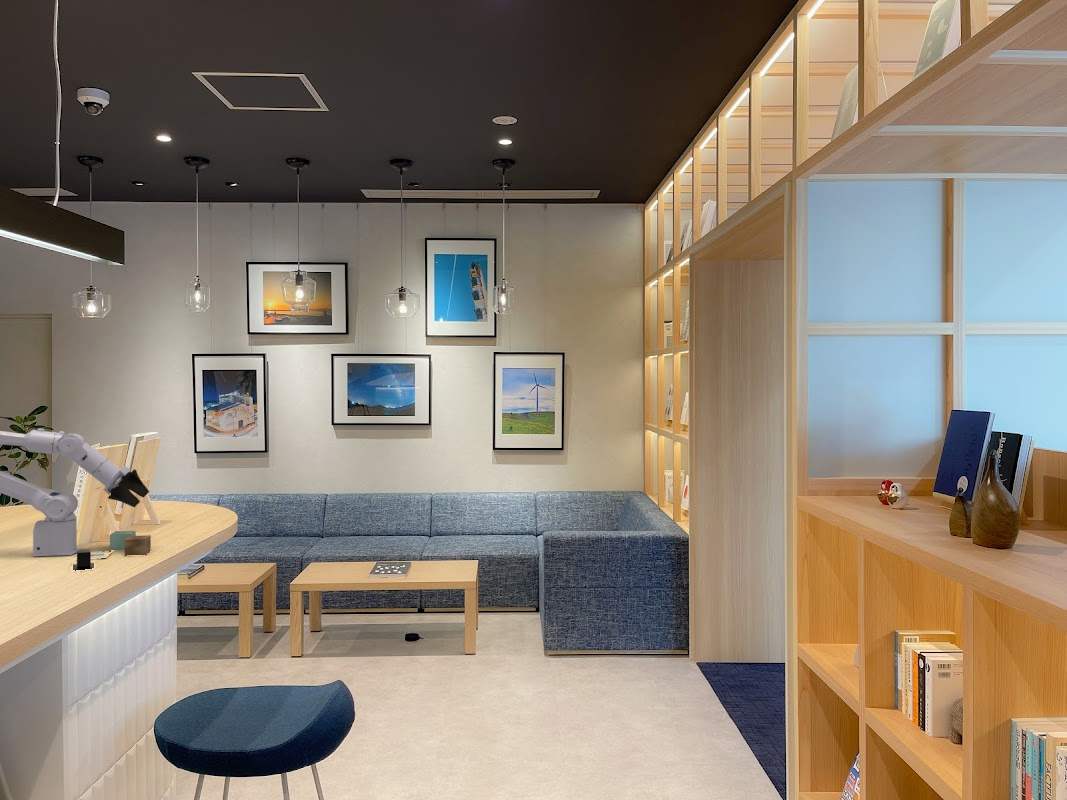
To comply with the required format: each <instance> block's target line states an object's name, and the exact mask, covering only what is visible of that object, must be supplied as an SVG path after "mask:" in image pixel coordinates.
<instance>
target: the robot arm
mask: <svg viewBox="0 0 1067 800" xmlns="http://www.w3.org/2000/svg"><path fill="white" fill-rule="evenodd" d="M0 445H6V446H15V447H17V446H18V447H24V448H25V449H26V450H27V451H28V452H29V453H38V454H39V453H40V454H47V455H58V454H59V455H60V456H61V457H65V458H70V459H71V460H72V461H73V462H75V463H76V464H77V465H78V467H80V468H82V469H83V470H84V471H85V472H87V473H88V474H89V475H91V476H92V477H93V478H95V479H96V480H97V481H99V482H100V483H101V484H102V485H104V489H103V492H105V493H106V494H108V497H107V499H109V500H114V501H117V502H121V503H123V504H125V505H128V506H130V507H133V508H136V507H137V506H138V504H140V503H141V501H140V500H139V498H138V497H137V496H136V495H138V496H139V497H141V498H142V499H143V498H145V497H146V496H147V495H148V494H149V493H150V490H149V489H148V488H147V486H145V483H143V481H142V480H141V478H140V477H139V474H138V472H137V471H138V470H137V469H135V468H134V469H133V470H131V468H129V467H128V466H127V465H124V466H122V467H121V468H120V467H119V466H118V465H117V464H115V463H114V462H113V461H111V460H110V459H109V458H107V457H106V456H105V455H104V454H102V453H101V452H100V451H99V450H97V449H96V448H94V447H92V445H90V444H89V443H87V442H86V440H85V438H84V436H82V435H81V434H78V433H74V432H71V433H68V434H65V431H62V430H61V431H59V432H55V431H46V430H45V428H37V429H32V430H30V432H28V433H20V432H11V431H4V430H0ZM132 492H133V493H132ZM0 493H1V494H3V495H6V496H7V497H10V498H14V499H16V500H19V501H20V502H23V503H26V504H28V505H30V506H32V507H33V508H34V509H35V510H36V511H39V512H41V513H42V514H43V515H44V516H45V518H44V519H43V520H42V519H41V520H37V521H36V522H35V523H34V526H33V531H32V553H33V554H31V557H53V556H54V557H55V556H57V557H58V556H72V555H74V554H77V550H83V547H77V544H78V543H77V531H78V529H77V525H78V524H77V522H78V521H77V516H76V515H75V511H76V510H77V508H78V506H79V501H78V498H77V496H76V495H75V494H73V493H71V492H67V491H66V492H65V491H57V490H53V489H51V488H44V487H41V486H40V485H37V484H34V483H32V482H29V481H27V480H25V479H22V478H20V477H18V476H14V475H12V474H9V473H7V472H4V471H2V470H0ZM135 494H136V495H135Z"/></svg>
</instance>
